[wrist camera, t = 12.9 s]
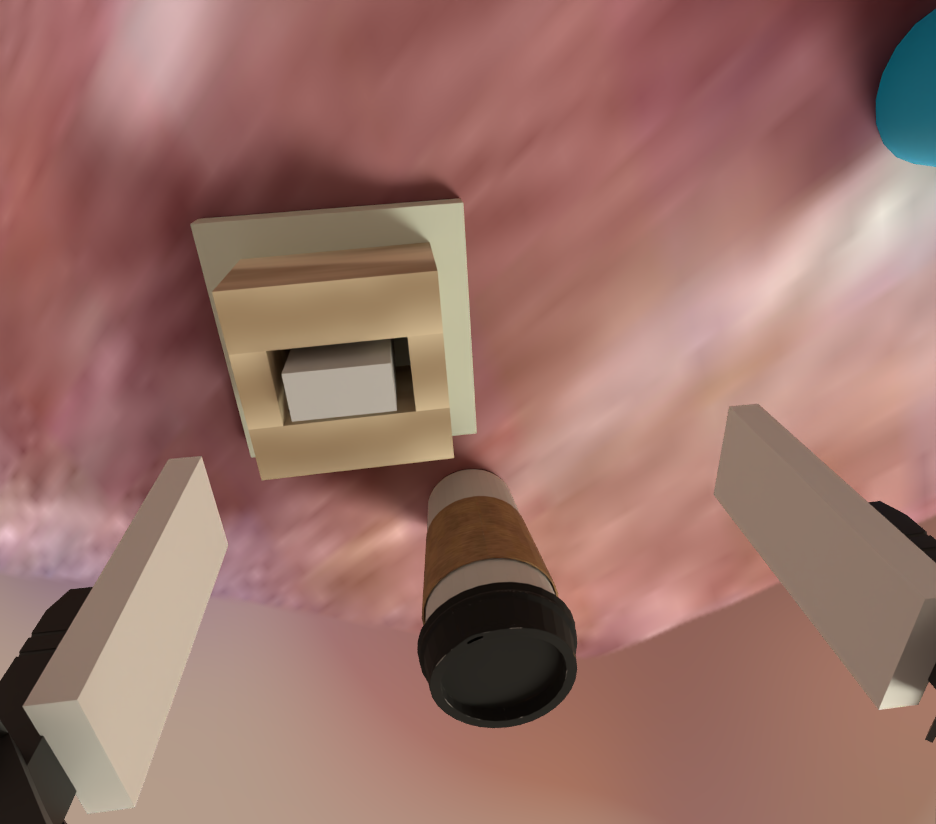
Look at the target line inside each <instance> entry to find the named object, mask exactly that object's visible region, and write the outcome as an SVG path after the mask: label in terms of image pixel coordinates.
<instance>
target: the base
mask: <svg viewBox="0 0 936 824" xmlns="http://www.w3.org/2000/svg"><path fill="white" fill-rule="evenodd" d="M190 225H191V229H192V233H193V237H194V241H195V244H196V248H197V252H198V256H199V260H200V264H201V267H202V271H203V275H204V279H205V283H206V287H207V291H208V294H209V298H210V302H211V306H212V310H213V314H214V317H215V321H216V325H217V329H218V333H219V337H220V340H221V344H222V348H223V352H224V356H225V360H226V363H227V367H228V371H229V375H230V379H231V383H232V386H233V390H234V394H235V398H236V402H237V406H238V409H239V413H240V417H241V421H242V425H243V429H244V432H245V436H246V440H247V444H248V448H249V452H250V455H251V457H255V453H254V449H253V445H252V442H251V438H250V434H249V430H248V427H247V423H246V419H245V415H244V411H243V408H242V404H241V400H240V396H239V392H238V389H237V385H236V381H235V377H234V374H233V370H232V366H231V362H230V358H229V355H228V351H227V347H226V343H225V340H224V336H223V332H222V328H221V324H220V321H219V317H218V313H217V309H216V306H215V302H214V298H213V294H212V291H213V290H214V289H215V288H216V287H217V286H218V284H219V283H220V282H221V281H222V280H223V279H224V277H225V276H226V275H227V274H228V273H229V272H230V271H231V269H232V268H233V267H234V266H235V265H236V264H237V263H238V261H239V260H240V259H248V258H259V257H270V256H281V255H292V254H303V253H315V252H326V251H337V250H348V249H359V248H370V247H381V246H392V245H403V244H414V243H425V242H430V245H431V249H432V252H433V256H434V259H435V263H436V267H437V270H438V280H439V292H440V303H441V315H442V326H443V337H444V349H445V360H446V372H447V383H448V394H449V406H450V417H451V429H452V436H456V435H465V434H474V433H477V430H476V413H475V396H474V379H473V362H472V345H471V328H470V311H469V293H468V276H467V259H466V242H465V225H464V208H463V202H462V200H461V199H460V198H456V199H444V200H431V201H418V202H406V203H393V204H380V205H367V206H355V207H342V208H329V209H317V210H304V211H291V212H278V213H266V214H253V215H240V216H227V217H215V218H202V219H197V220H196V221H194V222H193V223H191V224H190ZM405 365H411V363H410V355H409V346H408V338H407V337H401V338H391V339H381V340H371V341H361V342H351V343H341V344H331V345H321V346H312V347H302V348H292V349H291V350H290V353H289V355H288V358H287V361H286V363H285V366H284V369H283V371H282V378H283V383H284V388H285V392H286V397H287V401H288V406H289V411H290V415H291V420H292V422H294V421H304V420H313V419H323V418H333V417H342V416H352V415H362V414H371V413H381V412H390V411H397V401H396V366H405Z"/></svg>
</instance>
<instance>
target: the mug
mask: <svg viewBox="0 0 936 824" xmlns="http://www.w3.org/2000/svg"><path fill="white" fill-rule="evenodd" d="M876 125H877V127H878V130H879V133H880V136H881V138H882V141H883V144H884V145H885V146H886V147H887V148H888V149H889V150H890V151H891V152H892V153H893V154H894V155H895V156H896V157H897V158H900V159H903V160H905V161H908V162H910V163H913V164H919V165H927V166H934V167H936V9H935V10H933V11H932V12H931V13H929V14H928V15H927V16H925V17H924V18H923V19H921V20H920V21H919V22H917V23H916V24H915V25H914V26H913V27H912V29H911V30H910V31H909V32H908V33H907V35H906V36H905V37H904V38H903V39H902V41H901V42H900V43H899V44H898V45H897V47H896V48H895V50H894V52H893V54H892V56H891V58H890V60H889V62H888V64H887V66H886V68H885V70H884V71H883V74H882V77H881V81H880V85H879V89H878V93H877V97H876Z"/></svg>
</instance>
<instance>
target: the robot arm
mask: <svg viewBox="0 0 936 824" xmlns="http://www.w3.org/2000/svg"><path fill="white" fill-rule="evenodd" d="M714 496H715V497H716V498H717V500H718V501H719V502H720V504H721V505H722V506H723V508H724V509H725V510H726V511H727V513H728V514H729V515H730V517H731V518H732V519H733V521H734V522H735V523H736V524H737V526H738V527H739V528H740V530H741V531H742V532H743V534H744V535H745V536H746V538H747V539H748V540H749V541H750V543H751V544H752V545H753V547H754V548H755V549H756V551H757V552H758V553H759V554H760V556H761V557H762V558H763V560H764V561H765V562H766V564H767V565H768V566H769V568H770V569H771V570H772V571H773V573H774V574H775V575H776V577H777V578H778V579H779V581H780V582H781V583H782V584H783V586H784V587H785V588H786V590H787V591H788V592H789V594H790V595H791V596H792V597H793V599H794V600H795V601H796V603H797V604H798V605H799V607H800V608H801V609H802V611H803V612H804V613H805V614H806V616H807V617H808V618H809V620H810V621H811V622H812V624H813V625H814V626H815V627H816V629H817V630H818V631H819V633H820V634H821V635H822V637H823V638H824V639H825V641H826V642H827V643H828V644H829V646H830V647H831V648H832V650H833V651H834V652H835V654H836V655H837V656H838V657H839V659H840V660H841V661H842V663H843V664H844V665H845V667H846V668H847V669H848V671H849V672H850V673H851V674H852V676H853V677H854V678H855V680H856V681H857V682H858V684H859V685H860V686H861V687H862V689H863V690H864V691H865V693H866V694H867V695H868V697H869V698H870V699H871V700H872V702H873V703H874V704H875V706H876V707H877V708H878V710H881V709H888V708H896V707H904V706H911V705H918V704H919V702H920V700H921V697H922V696H923V693H924V691H925V689H926V686H927V684H928V683H929V682H930V683H931V684H932V685H933V686H934V688H935V689H936V540H935V539H934V538H933V537H932V536H931V535H930V536H928V535H927V532H926V531H925V530H924V529H923V528H921V527H920V526H919V525H918V524H917V523H915V522H914V521H913V520H912V519H911V518H910V517H908V516H907V515H906V514H904V513H902V512H900V511H898V510H896V509H894V508H892V507H890V506H889V505H887V504H885V503H883V502H881V501H877V502H867V501H866V500H865V499H864V498H863V497H861V496H860V495H859V494H858V493H857V492H856V491H855V490H854V489H853V488H851V487H850V486H849V485H848V484H847V483H846V482H845V481H844V480H842V479H841V478H840V477H839V476H838V475H837V474H836V473H835V472H834V471H832V470H831V469H830V468H829V467H828V466H827V465H826V464H825V463H824V462H822V461H821V460H820V459H819V458H818V457H817V456H816V455H815V454H813V453H812V452H811V451H810V450H809V449H808V448H807V447H806V446H805V445H803V444H802V443H801V442H800V441H799V440H798V439H797V438H796V437H794V436H793V435H792V434H791V433H790V432H789V431H788V430H787V429H786V428H784V427H783V426H782V425H781V424H780V423H779V422H778V421H777V420H775V419H774V418H773V417H772V416H771V415H770V414H769V413H768V412H767V411H765V410H764V409H763V408H762V407H761V406H760V405H759V404H752V405H741V406H730V407H729V410H728V416H727V422H726V427H725V433H724V439H723V444H722V450H721V456H720V461H719V467H718V473H717V478H716V484H715V489H714ZM227 547H228V542H227V539H226V536H225V533H224V529H223V526H222V523H221V519H220V516H219V513H218V509H217V506H216V503H215V499H214V496H213V493H212V489H211V486H210V483H209V479H208V476H207V473H206V470H205V466H204V463H203V460H202V456H198V457H187V458H177V459H169V460H168V461H167V463H166V465H165V466H164V468H163V470H162V471H161V473H160V475H159V476H158V478H157V480H156V482H155V483H154V485H153V487H152V488H151V490H150V492H149V493H148V495H147V497H146V498H145V500H144V502H143V504H142V505H141V507H140V509H139V510H138V512H137V514H136V515H135V517H134V519H133V520H132V522H131V524H130V526H129V527H128V529H127V531H126V532H125V534H124V536H123V537H122V539H121V541H120V542H119V544H118V546H117V547H116V549H115V551H114V553H113V554H112V556H111V558H110V559H109V561H108V563H107V564H106V566H105V568H104V569H103V571H102V573H101V575H100V576H99V578H98V580H97V581H96V583H95V585H94V586H93V587H88V588H79V589H70V590H69V591H68V592H67V593H66V594H64V595H63V596H62V597H61V598H60V599H59V600H58V601H57V602H55V603H54V604H53V605H52V606H51V607H50V608H49V609H47V610H46V612H45V613H44V615H43V616H42V618H41V619H40V621H39V623H38V624H37V626H36V627H35V629H34V630H33V632H32V637H31V638H28V639H27V641H26V642H25V644H24V645H23V647H22V649H21V650H20V652H19V653H20V655H19V657H16V658H15V659H14V661H13V662H12V664H11V665H10V667H9V669H8V670H7V672H6V673H5V674H4V676H3V678H2V679H1V681H0V824H67V823H66V822H65V820H64V818H65V816H66V814H67V812H68V809H69V807H70V805H71V803H72V800H73V798H74V796H75V794H76V796H77V797H78V799H79V801H80V802H81V804H82V805H83V807H84V809H85V810H86V812H87V814H89V813H97V812H105V811H113V810H121V809H128V808H135V806H136V803H137V801H138V798H139V795H140V792H141V789H142V786H143V784H144V781H145V778H146V775H147V772H148V770H149V767H150V764H151V761H152V758H153V755H154V753H155V750H156V747H157V744H158V741H159V739H160V736H161V733H162V730H163V727H164V725H165V722H166V719H167V716H168V713H169V710H170V708H171V705H172V702H173V699H174V696H175V694H176V691H177V688H178V685H179V682H180V679H181V677H182V674H183V671H184V668H185V665H186V662H187V660H188V657H189V654H190V651H191V649H192V646H193V642H194V640H195V637H196V634H197V632H198V629H199V626H200V623H201V620H202V617H203V615H204V612H205V609H206V606H207V604H208V601H209V598H210V595H211V592H212V589H213V587H214V584H215V581H216V578H217V575H218V573H219V570H220V567H221V564H222V561H223V559H224V556H225V553H226V550H227ZM935 737H936V717H935V719H934V721H933V723H932V725H931V727H930V729H929V732H928V734H927V736H926V739H925V740H928V741H930V742H933V741H934V739H935Z"/></svg>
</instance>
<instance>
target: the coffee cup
mask: <svg viewBox="0 0 936 824" xmlns="http://www.w3.org/2000/svg"><path fill="white" fill-rule="evenodd" d="M422 621H423V625H424V626H423V627H422V629H421V632H420V635H419V639H418V656H419V662H420V665H421V669H422V673H423V675H424V676H425V678H426V680H427V681H428V683H429V688H430V691H431V694H432V698H433V699H434V701H435V702H436V704H437V705H438V706H439V707H440V708H441V709H442V710H443V711H444V712H445V713H446V714H448V715H450V716H452V717H453V718H455V719H456V720H459V721H461V722H464V723H466V724H470V725H474V726H478V727H487V728H502V727H511V726H517V725H521V724H524V723H527V722H530V721H533V720H535V719H537V718H539V717H541V716H543V715H545V714H547V713H548V712H550V711H551V710H553V709H554V708H555V707H556V706H557V705H559V704H560V703H561V702H562V701H563V700H564V699H565V697H566V696H567V694H568V693H569V692H570V690H571V689H572V686H573V684H574V682H575V679H576V672H577V663H576V655H575V654H576V648H577V635H576V630H575V622H574V619H573V616H572V614H571V611H570V610H569V609H568V607H567V606H566V604H565V603H564V602H563V601H562V600H561V599H559V598H558V592H557V590H556V587H555V584H554V582H553V580H552V578H551V576H550V574H549V572H548V570H547V568H546V565H545V563H544V561H543V559H542V557H541V555H540V553H539V551H538V549H537V547H536V545H535V543H534V541H533V539H532V537H531V535H530V533H529V531H528V528H527V526H526V524H525V522H524V520H523V518H522V516H521V515H520V513H519V511H518V509H517V506H516V504H515V502H514V499H513V497H512V495H511V493H510V490H509V488H508V487H507V485H506V484H505V483H504V481H502V480H501V479H500V478H499V477H498V476H496V475H494V474H493V473H490V472H487V471H485V470H478V469H467V470H462V471H458V472H455V473H452V474H450V475H449V476H447V477H445V478H444V479H443V480H441V481H440V482H439V483H438V484H437V485H436V487H435V488H434V489H433V491H432V493H431V495H430V497H429V501H428V521H427V537H426V554H425V571H424V588H423V605H422Z"/></svg>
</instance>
